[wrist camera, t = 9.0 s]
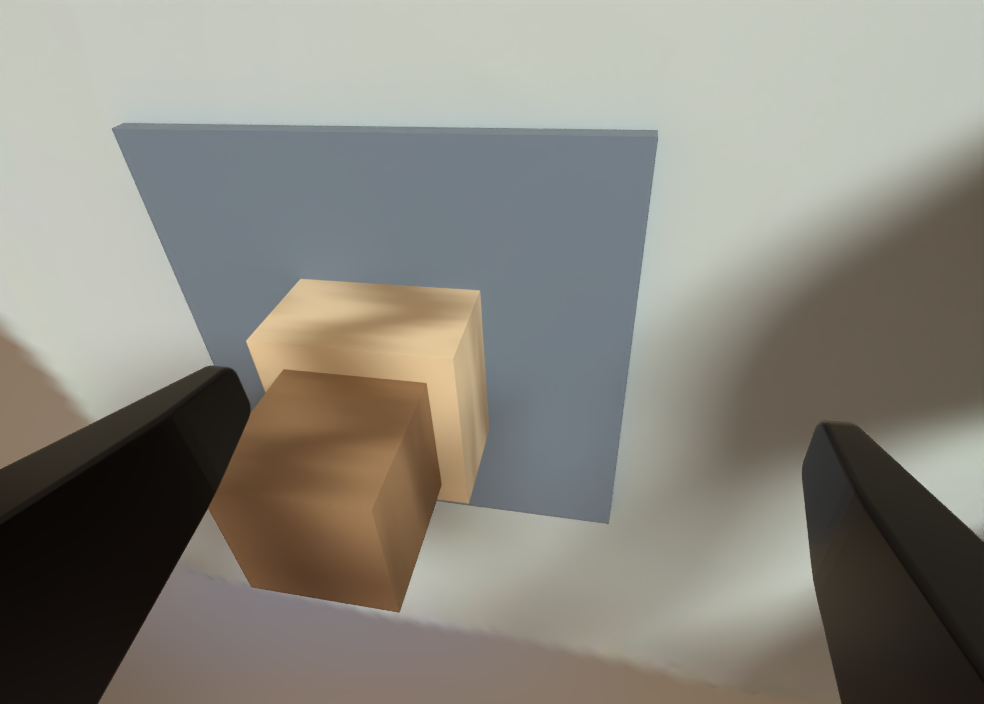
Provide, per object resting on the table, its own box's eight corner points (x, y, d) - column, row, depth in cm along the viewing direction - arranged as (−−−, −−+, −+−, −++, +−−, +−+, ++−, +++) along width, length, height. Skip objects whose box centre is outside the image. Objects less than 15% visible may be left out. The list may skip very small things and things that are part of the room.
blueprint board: (657, 130, 17) (658, 136, 16) (609, 513, 28) (608, 524, 27) (123, 123, 20) (111, 128, 20) (268, 469, 31) (262, 477, 31)
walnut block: (426, 382, 19) (371, 510, 15) (441, 484, 22) (399, 612, 18) (283, 369, 19) (196, 485, 16) (317, 468, 22) (251, 587, 19)
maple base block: (480, 290, 21) (452, 358, 18) (489, 428, 25) (468, 503, 22) (300, 278, 22) (245, 341, 19) (338, 412, 26) (298, 481, 23)
